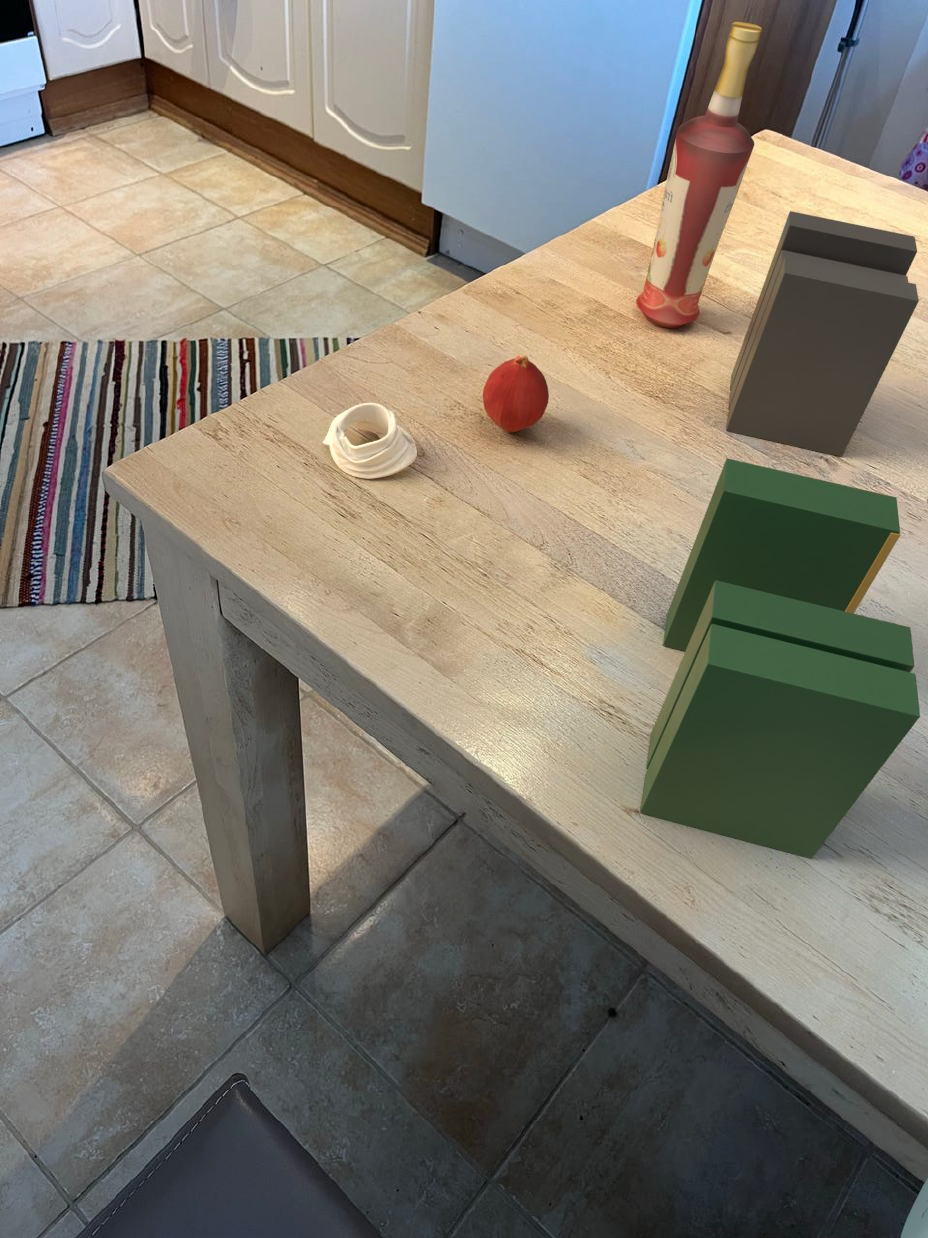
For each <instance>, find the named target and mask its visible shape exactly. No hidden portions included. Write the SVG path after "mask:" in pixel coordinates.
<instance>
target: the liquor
mask: <svg viewBox="0 0 928 1238" xmlns="http://www.w3.org/2000/svg"><path fill="white" fill-rule="evenodd" d="M762 31H763V28H762V27H761V26H759V25H757V24H754V23H751V22H747V21H734V22H732V23H731V26H730V29H729V33H728V37H727V41H726V45H725V51H724V61H723V65H722V68H721V71H720V74H719V77H718V79H717V81H716V84H715V87H714V90H713V93H712V96H711V99H710V100H709V104H708V107H707V110H706V112H705V114H704V115H700V116H694V117H693V118H690V119H689V120H687V121H685V122H683V123H682V124H680V125H679V126H678V128H677V129H676V134H675V140H674V144H673V148H672V149H673V150H672V154H671V159H670V163H669V168H668V173H667V178H666V181H665V187H664V192H663V197H662V203H661V207H660V213H659V219H658V224H657V227H656V233H655V237H654V242H653V245H652V246H653V247H652V251H651V256H650V261H649V265H648V269H647V273H646V278H645V282H644V286H643V291H642V292H641V293H640V294H639V295H638V296H637V298H636V306H637V307H638V309H639V310H640V312H641V314H643V317H644V318H645V319H646V320H647V321H648V322H649V323H651V324H653V325H655V326H657V327H659V328H663V329H664V328H665V329H676V328H680V327H683V326H685V325H687V324H689V323H691V322H694V321H695V320H697V319H698V317H699V316H700V308H699V302H700V299H701V296H702V293H703V289H704V286H705V284H706V281H707V278H708V275H709V272H710V269H711V266H712V263H713V261H714V258H715V255H716V252H717V249H718V246H719V243H720V241H721V238H722V235H723V233H724V230H725V227H726V225H727V222H728V219H729V217H730V214H731V212H732V209H733V206H734V204H735V201H736V200H737V199H736V198H737V196H738V193H739V190H740V187H741V184H742V181H743V178H744V176H745V172H746V169H747V167H748V164H749V161H750V158H751V155H752V153H753V150H754V147H755V141H754V139H753V137H752V136H751V134H750V132H749V131H748V130H747V128H746V127H744V126H743V125H742V124H741V123H739V122H738V120H739V114H740V108H741V105H742V104H741V103H742V100H743V95H744V91H745V85H746V80H747V75H748V71H749V68H750V66H751V64H752V60H753V59H754V56H755V54H756V52H757V49H758V46H759V41H760V38H761V36H762Z"/></svg>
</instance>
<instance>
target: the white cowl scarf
mask: <svg viewBox="0 0 928 1238" xmlns="http://www.w3.org/2000/svg"><path fill="white" fill-rule="evenodd" d="M353 425H354V426H356V427H358V428H360V429H363V430H366V431H368V432H371V433H373V434H375V435H377V437H378V438H379V439H377V440H374V441H371V442H367V443H363V444H360V445H353V444H352V443H351V441H350V440H349V439H348V437H347V436H346V435H345V434H346V432H347V431H348V430H349V429H350V428H351V427H352V426H353ZM322 444H324V445H325V446H327V447H329V452H330V455H331V457H332V459H333V461H334V463H335V464H336V466H337V467H338V468H339V469H340V470H341V471H343V472H344V473H346V474H348V475H349V476H353V477H355V478H359V479H365V480H367V479H368V480H373V479H379V478H384V477H388V476H391V475H394V474H396V473H399V472H401V471H402V470H405V469H406V468H407V467H409V466H410V465H412V463H414V462H415V461H416V459H417V456H418V449H417V446H416V442H415V440H414V438H413V437H412V435H410V433H408V432H407V431H406V430H405V429H404V428H402V427H401V426H399V425H398V419H397V416H396V414H395V413H394V411H392V410H390V409H388V408H387V407H385V405H383V404H380V403H377V402H364V403H359V404H357V405H356V404H355V405H354V406H352V407H350V408H348V409H346V410H345V411H342V412H341V413H339V414H338V415H337V416H335V418H334V419H333V420H332V422H331V423H330V426H329V429H328V431H327V434H326V436H325V438H324V439H323V441H322Z"/></svg>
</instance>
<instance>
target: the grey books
mask: <svg viewBox="0 0 928 1238" xmlns="http://www.w3.org/2000/svg"><path fill="white" fill-rule="evenodd" d="M917 254H918V247H917V242H916V237H915V236H914V235H910V234H904V233H901V232H900V233H899V232H895V231H890V230H885V229H880V228H874V227H870V226H866V225H860V224H856V223H850V222H845V221H841V220H836V219H831V218H826V217H821V216H817V215H811V214H807V213H801V212H798V211H797V212H796V211H792V210H790V211H789V212H788V215H787V218H786V221H785V223H784V226H783V229H782V232H781V235H780V238H779V241H778V243H777V246H776V249H775V252H774V254H773V257H772V259H771V263H770V266H769V268H768V271H767V274H766V277H765V280H764V282H763V284H762V287H761V291H760V293H759V297H758V299H757V301H756V304H755V308H754V311H753V312H752V316H751V318H750V320H749V325H748V326H747V330H746V333H745V336H744V339H743V341H742V344H741V347H740V349H739V352H738V354H737V358H736V361H735V363H734V366H733V369H732V371H731V375H730V384H729V385H730V386H729V395H728V406H727V410H728V411H727V415H726V416H727V417H726V427H725V431H727V432H730V433H735V434H739V435H742V436H743V435H745V436H747V437H753V438H756V439H762V440H765V441H770V442H774V443H780V444H783V445H788V446H792V447H796V448H801V449H806V450H810V451H814V452H817V453H818V452H819V453H822V454H827V455H832V456H836V457H840V458H842V457H843V456H844V454H845V451H846V450H847V447H848V445H849V443H850V442H851V440H852V437H853V436H854V434H855V431H856V429H857V428H858V425H859V423H860V421H861V419H862V417H863V415H864V413H865V411H866V410H867V407H868V405H869V403H870V401H871V399H872V397H873V395H874V393H875V391H876V389H877V387H878V385H879V383H880V381H881V378H882V377H883V374H884V373H885V371H886V368H887V366H888V364H889V363H890V360H891V358H892V356H893V354H894V352H895V350H896V348H897V346H898V344H899V343H900V340H901V338H902V337H903V334H904V332H905V330H906V328H907V326H908V324H909V322H910V320H911V318H912V316H913V314H914V312H915V310H916V308H917V305H918V303H919V301H920V300H919V295H918V294H919V293H918V288H917V284H916V283H913V282H909V277H908V272H909V270H910V269H911V266H912V264H913V262H914V260H915V258H916V255H917Z"/></svg>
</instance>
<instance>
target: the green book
mask: <svg viewBox="0 0 928 1238" xmlns="http://www.w3.org/2000/svg"><path fill="white" fill-rule="evenodd" d="M900 528H901V527H900V517H899V508H898V499H897V497H896V496H893V495H887V494H884V493H880V492H876V491H872V490H871V491H870V490H867V489H861V488H858V487H853V486H849V485H844V484H841V483H836V482H833V481H827V480H823V479H819V478H814V477H811V476H806V475H801V474H797V473H793V472H789V471H784V470H780V469H777V468H772V467H767V466H762V465H758V464H753V463H749V462H745V461H740V460H736V459H732V458H726V459H725V461H724V464H723V467H722V469H721V472H720V474H719V478H718V480H717V483H716V485H715V487H714V490H713V492H712V495H711V498H710V501H709V503H708V506H707V508H706V511H705V514H704V516H703V519H702V521H701V525H700V527H699V530H698V532H697V535H696V537H695V540H694V542H693V545H692V548H691V550H690V553H689V555H688V558H687V561H686V564H685V566H684V569H683V571H682V574H681V576H680V579H679V582H678V584H677V587H676V590H675V592H674V594H673V597H672V601H671V603H670V605H669V608H668V610H667V613H666V614H667V615H666V619H665V620H666V621H665V627H664V634H663V642H662V646H663V647H666V648H670V649H674V650H678V651H682V652H685V651H686V649H687V646H688V644H689V642H690V639H691V637H692V635H693V632H694V630H695V627H696V625H697V623H698V620H699V618H700V615H701V613H702V611H703V608H704V606H705V604H706V601H707V599H708V596H709V594H710V592H711V589H712V587H713V585H714V582H715V581H716V580H717V581H721V582H725V583H729V584H733V585H737V586H741V587H746V588H750V589H754V590H758V591H762V592H766V593H770V594H775V595H779V596H783V597H787V598H791V599H795V600H799V601H803V602H808V603H812V604H816V605H820V606H824V607H828V608H832V609H836V610H841V611H845V612H849V613H853V614H855V613H856V610H857V609H858V607H859V606H860V604H861V602H862V601H863V599H864V597H865V596H866V594H867V592H868V591H869V589H870V587H871V585H872V584H873V582H874V580H875V579H876V577H877V575H878V574H879V572H880V570H881V568H882V567H883V565H884V564H885V562H886V561H887V559H888V558H889V556H890V553H891V552H892V550H893V549H894V547H895V545H896V544H897V542H898V541H899V539H900V537H901V529H900Z"/></svg>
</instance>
